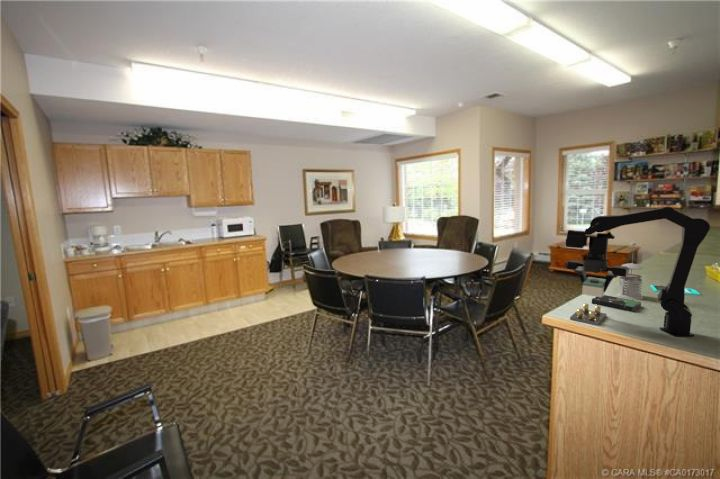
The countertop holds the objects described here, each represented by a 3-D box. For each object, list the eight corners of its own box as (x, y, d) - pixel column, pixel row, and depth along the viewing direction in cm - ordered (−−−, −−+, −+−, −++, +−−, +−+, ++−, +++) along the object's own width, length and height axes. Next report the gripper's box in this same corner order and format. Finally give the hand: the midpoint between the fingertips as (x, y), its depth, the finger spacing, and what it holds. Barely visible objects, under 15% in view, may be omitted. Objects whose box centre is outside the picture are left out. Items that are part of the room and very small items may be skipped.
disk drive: (591, 305, 146) (633, 313, 134) (591, 298, 146) (634, 306, 134) (599, 300, 152) (641, 307, 140) (600, 294, 152) (641, 301, 140)
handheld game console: (700, 296, 152) (700, 293, 151) (654, 292, 160) (654, 289, 160) (693, 290, 160) (693, 288, 160) (649, 287, 168) (650, 284, 168)
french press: (648, 297, 152) (653, 242, 148) (632, 300, 147) (636, 245, 144) (624, 291, 161) (628, 240, 157) (609, 295, 157) (612, 242, 153)
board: (587, 287, 133) (588, 275, 133) (605, 290, 129) (607, 277, 129) (582, 294, 126) (583, 281, 125) (601, 297, 121) (602, 283, 121)
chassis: (580, 310, 138) (580, 301, 137) (606, 316, 131) (607, 306, 130) (570, 319, 129) (570, 309, 128) (597, 325, 122) (598, 315, 122)
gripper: (562, 249, 127) (560, 289, 129) (624, 255, 113) (620, 300, 115) (571, 245, 134) (569, 283, 136) (630, 251, 120) (626, 293, 123)
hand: (594, 289), depth 127 cm, fingers closed on board, 6 cm apart
